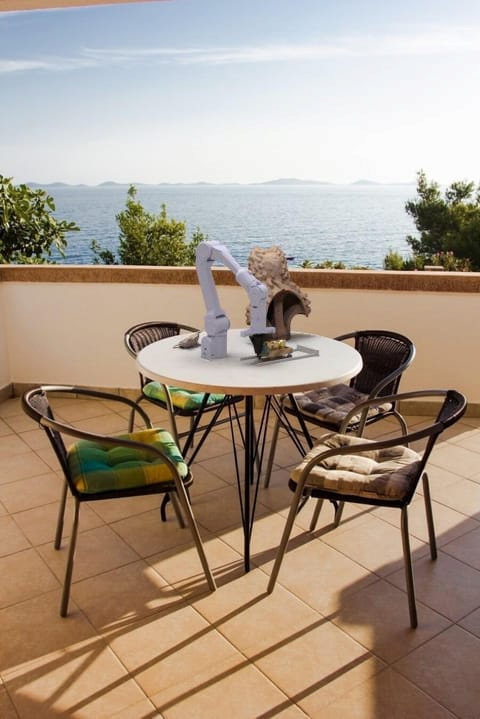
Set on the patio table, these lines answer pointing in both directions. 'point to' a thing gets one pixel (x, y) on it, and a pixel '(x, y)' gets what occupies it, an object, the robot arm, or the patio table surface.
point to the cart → (275, 352)
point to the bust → (277, 291)
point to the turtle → (189, 340)
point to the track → (305, 349)
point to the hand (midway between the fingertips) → (257, 353)
